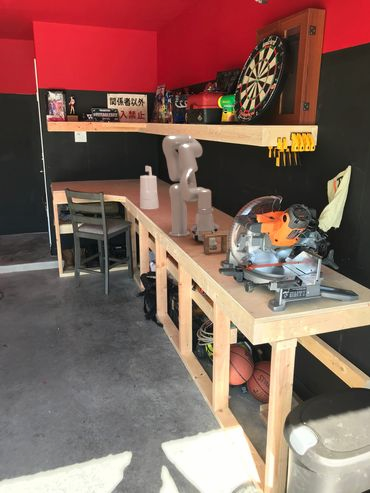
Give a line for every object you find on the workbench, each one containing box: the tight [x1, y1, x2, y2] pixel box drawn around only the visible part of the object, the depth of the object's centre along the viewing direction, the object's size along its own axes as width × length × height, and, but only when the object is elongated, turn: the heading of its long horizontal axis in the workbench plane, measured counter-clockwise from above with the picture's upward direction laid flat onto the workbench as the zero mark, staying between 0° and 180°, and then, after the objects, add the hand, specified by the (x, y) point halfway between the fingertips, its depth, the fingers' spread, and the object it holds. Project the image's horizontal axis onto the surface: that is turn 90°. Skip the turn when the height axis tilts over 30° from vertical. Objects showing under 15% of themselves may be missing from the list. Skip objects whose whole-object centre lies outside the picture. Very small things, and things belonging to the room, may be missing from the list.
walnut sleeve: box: [203, 232, 228, 256], centre depth 226 cm, size 4×12×10 cm, turn 106°
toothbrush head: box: [191, 232, 218, 250], centre depth 244 cm, size 5×7×25 cm
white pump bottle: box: [139, 165, 160, 210], centre depth 343 cm, size 15×15×33 cm
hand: (204, 240), depth 243 cm, fingers open, 9 cm apart
